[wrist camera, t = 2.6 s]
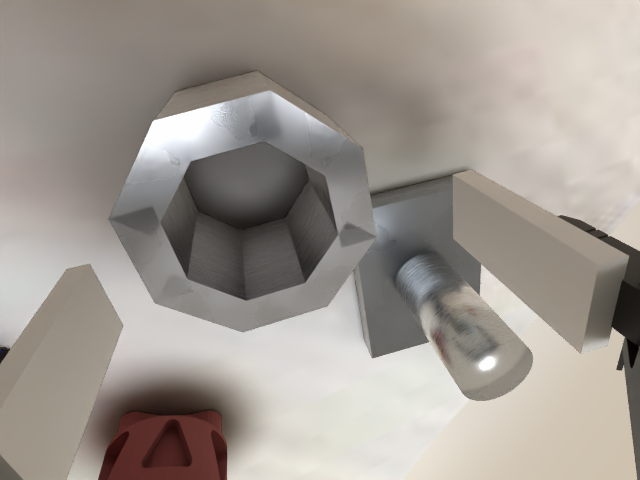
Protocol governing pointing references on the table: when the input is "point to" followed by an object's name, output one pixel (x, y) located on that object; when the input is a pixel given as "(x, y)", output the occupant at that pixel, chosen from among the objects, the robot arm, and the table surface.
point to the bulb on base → (434, 293)
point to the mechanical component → (167, 448)
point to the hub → (256, 242)
